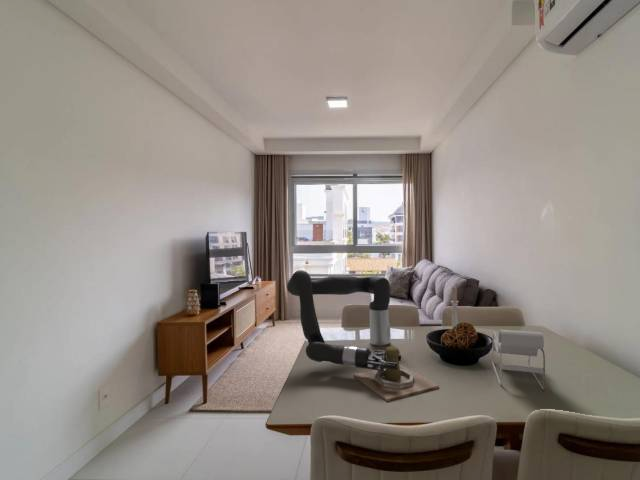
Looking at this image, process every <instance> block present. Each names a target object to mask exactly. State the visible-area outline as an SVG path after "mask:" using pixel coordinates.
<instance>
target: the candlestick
mask: <svg viewBox="0 0 640 480" xmlns="http://www.w3.org/2000/svg"><path fill="white" fill-rule="evenodd" d="M457 291H458V289H457V286H452V287H451V299H452V300H450V303H451V306H452V311H451V313H452V314H451V329H452V328H453V327H454V326H456V325H457V324H458V325H459V321H458V308H457V307H458V305H459V304H458V303H459V302H460V301H459V300H458V299H457V298H458V295H457V294H458V292H457Z"/></svg>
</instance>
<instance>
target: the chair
mask: <svg viewBox="0 0 640 480" xmlns="http://www.w3.org/2000/svg"><path fill="white" fill-rule="evenodd" d="M491 345H492V352H491V363H492V366H493V370H494V372H495V376H496V378H497V381H498V384H499V385H500V386H502V385H503V383H502V382H503V381H502V380H503V379H502V377H503V374H502V370H504V371H505V370H506V371H507V370H508V371H513V372H514V371H515V372H516V371H517V372H525V373H531V374H532V375H533V377H534V378H535V380H536V382H537V383H538V385H539V387H540V388H541V390H542V391H545V390H546V356H545V350H544V348H545V347H544V345H545V339H544V336H543V333H542V331H541V332H539V331H527V330H510V329H499V331H498V337H497V335H496V332H495V331H493V332H492V344H491ZM539 350H540V351H541V353H542V358H543V359H542V361H543V365H542V366H543V367H534V366H533V367H532V366H531V365H530V360H531V359H530V358H531V357H538V351H539ZM494 352H496V353H497V354H499V362H500V363H499V368H500V370H499V372H500V373H499V374H498V371H497V369H496V366H495V363H494ZM502 354H507V355H517V356H525V357H527V356H528V357H527V358H528V359H527V366H523V365H515V364H514V365H513V364H505V363H504V364H503V363H502ZM536 374H542V375H543V381H542V382H543V385H542V384H541V382H540V380H539V378H537V377H538V376H536ZM499 375H500V377H499Z"/></svg>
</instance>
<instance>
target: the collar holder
mask: <svg viewBox="0 0 640 480" xmlns="http://www.w3.org/2000/svg"><path fill="white" fill-rule="evenodd" d="M399 367H400V374H401V378H400V379H398V380H389V379H387V378H385V369H384V371H379V370H373V369H370V370H367V371H362V372H359V373H354V374H353V377H355V378H356V380H358V381H359V382H361V383H362V384H363V385H365V386H366V387H367V388H369V389H370V390H371V391H372V392H374V393H375V394H377V395H378V396H379V397H380V398H381V399H383V400H384V401H385V402H390V401H394V400H398V399H402V398H407V397H409V396H414V395H418V394H421V393H424V392H429V391H432V390H437V389H440V385H438V384H437V383H435V382H433V381H431V380H429V379H428V378H427V377H425V376H424V375H423V376H422V375H420V374H419V373H417V372H415V371H413V370H412V369H410V368H408V367H406V366H405V365H403V364H400V363H399Z"/></svg>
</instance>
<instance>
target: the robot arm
mask: <svg viewBox="0 0 640 480" xmlns="http://www.w3.org/2000/svg"><path fill="white" fill-rule="evenodd" d="M286 289H287V292H289V294H291V295H292V296H296V297H298V298H299V305H300V308H299V309H300V310H299V311H300V313H299V314H300V316H299V317H300V323H301V324H300V325H301V329H302V331H303V336H304V338H305V339H306V341H307V342H308V344H307V345H306V348H305V354H306V356H307V358H308V359H309V360H311V361H313V362H318V363H322V362H329V363H332V364H335V365H343V366H344V365H345V366H348V367H351V368H358V369H365V370H366V369H368V370H379V371H384V369H394V370H397V368H398V364H397V363H393V362H386V360H387V356H386V353H385V350H381V349H374V352H371V350H370V348H369V347H362V346H354V345H341V344H337V345H336V344H330V343H327V342H326V341H325V340H324V338H323V335H322V332H321V328H320V324H319V321H318V316H317V313H316V307H315V301H314V295H335V296H336V295H337V296H338V295H339V296H341V295H343V296H344V295H346V296H347V295H351V294H355V293H367V294H372V295H373V299H372V301H371V302H369V343H370V344H371V345H374V346H381V347H382V346H387V345H388V344H391V324H390V322H389V305H390V301H391V300H390V298H391V285H390V281H389V280H388V279H387V278H386V277H382V276H378V275H373V276H363V277H361V276H360V277H357V276H352V275H340V274H339V275H338V274H337V275H335V274H334V275H329V276H325V277H322V278H318V279H313V280H312V278H311V276H310V274H309V273H308V272H307V271H305V270H302V269H299V270H296V271H295V272H294V273H293V274H292V276H290V279H289V280H288V282H287V284H286ZM398 360H399V362H401V361H402V355H401V354H399V356H398Z"/></svg>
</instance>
